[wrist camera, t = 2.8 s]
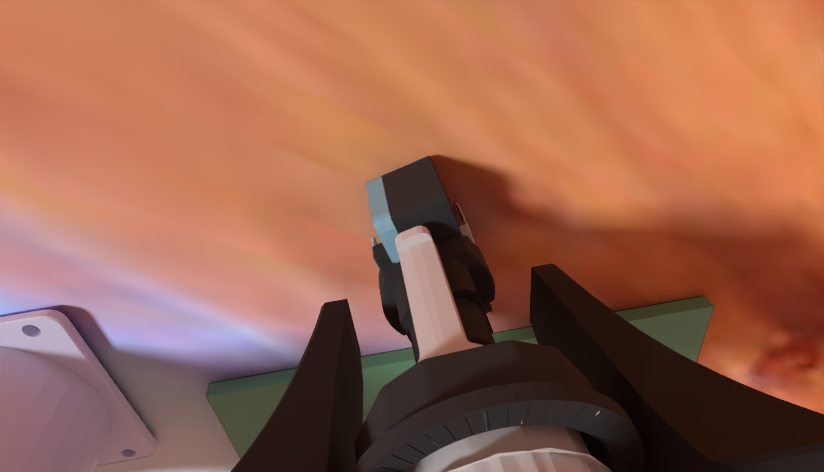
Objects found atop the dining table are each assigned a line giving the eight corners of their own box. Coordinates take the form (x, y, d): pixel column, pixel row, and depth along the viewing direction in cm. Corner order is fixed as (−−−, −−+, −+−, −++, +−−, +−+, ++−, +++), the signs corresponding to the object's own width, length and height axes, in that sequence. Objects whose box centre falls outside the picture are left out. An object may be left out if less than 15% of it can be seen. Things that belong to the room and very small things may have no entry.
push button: (522, 281, 18) (689, 592, 10) (390, 332, 18) (442, 672, 10) (470, 123, 14) (669, 413, 6) (305, 193, 15) (281, 552, 6)
